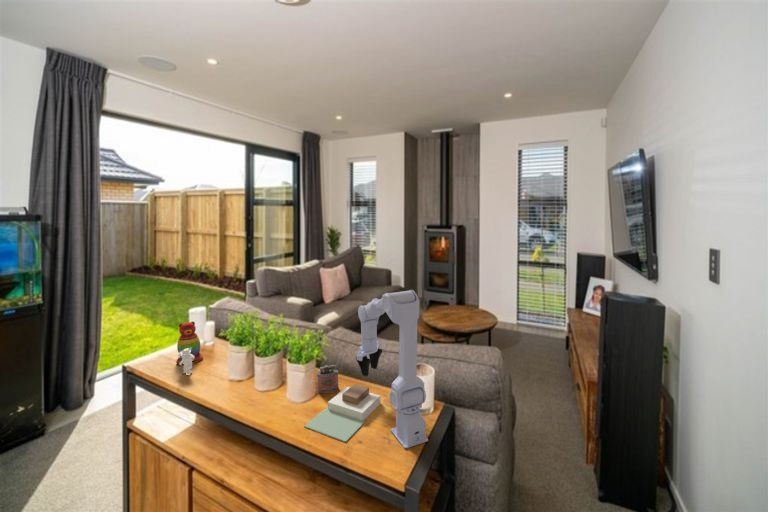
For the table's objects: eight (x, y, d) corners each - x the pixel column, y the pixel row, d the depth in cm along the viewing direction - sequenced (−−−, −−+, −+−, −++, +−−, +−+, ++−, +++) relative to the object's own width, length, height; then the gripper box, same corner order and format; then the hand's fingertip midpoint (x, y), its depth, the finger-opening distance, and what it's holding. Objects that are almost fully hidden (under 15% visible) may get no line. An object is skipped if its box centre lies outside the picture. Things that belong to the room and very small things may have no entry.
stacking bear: (176, 366, 153) (172, 327, 151) (177, 357, 162) (173, 321, 160) (203, 360, 158) (200, 323, 156) (202, 353, 167) (200, 318, 165)
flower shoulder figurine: (198, 374, 145) (196, 347, 144) (189, 378, 142) (186, 350, 140) (185, 369, 149) (183, 343, 148) (176, 373, 146) (174, 346, 144)
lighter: (318, 394, 128) (317, 369, 127) (317, 390, 131) (316, 365, 130) (339, 391, 130) (338, 366, 129) (338, 387, 133) (337, 362, 132)
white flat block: (347, 393, 128) (347, 386, 128) (380, 403, 122) (380, 395, 121) (328, 410, 118) (327, 402, 117) (362, 421, 111) (362, 413, 111)
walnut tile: (355, 390, 125) (354, 383, 125) (369, 394, 122) (369, 387, 122) (342, 400, 118) (342, 393, 118) (357, 405, 115) (356, 398, 115)
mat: (325, 409, 118) (325, 408, 118) (365, 422, 111) (365, 421, 111) (304, 427, 109) (304, 425, 109) (345, 442, 101) (345, 441, 101)
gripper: (369, 329, 134) (370, 362, 136) (349, 341, 122) (349, 377, 123) (385, 332, 131) (385, 365, 133) (365, 345, 118) (366, 382, 120)
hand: (369, 371), depth 128 cm, fingers open, 6 cm apart
